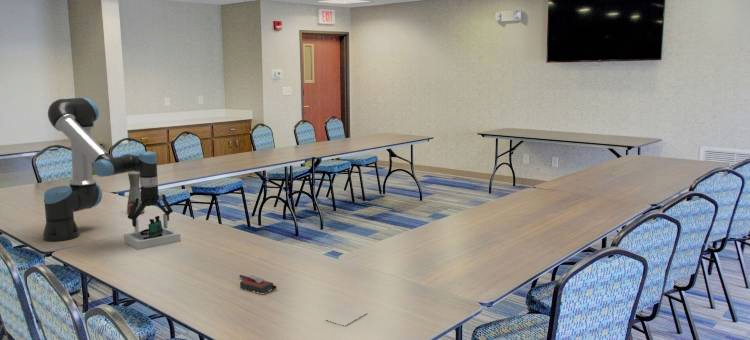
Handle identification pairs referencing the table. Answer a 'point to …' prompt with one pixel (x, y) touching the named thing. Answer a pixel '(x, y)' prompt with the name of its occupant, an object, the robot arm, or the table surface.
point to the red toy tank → (256, 284)
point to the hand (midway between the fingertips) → (151, 230)
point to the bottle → (134, 190)
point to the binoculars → (153, 229)
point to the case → (151, 239)
